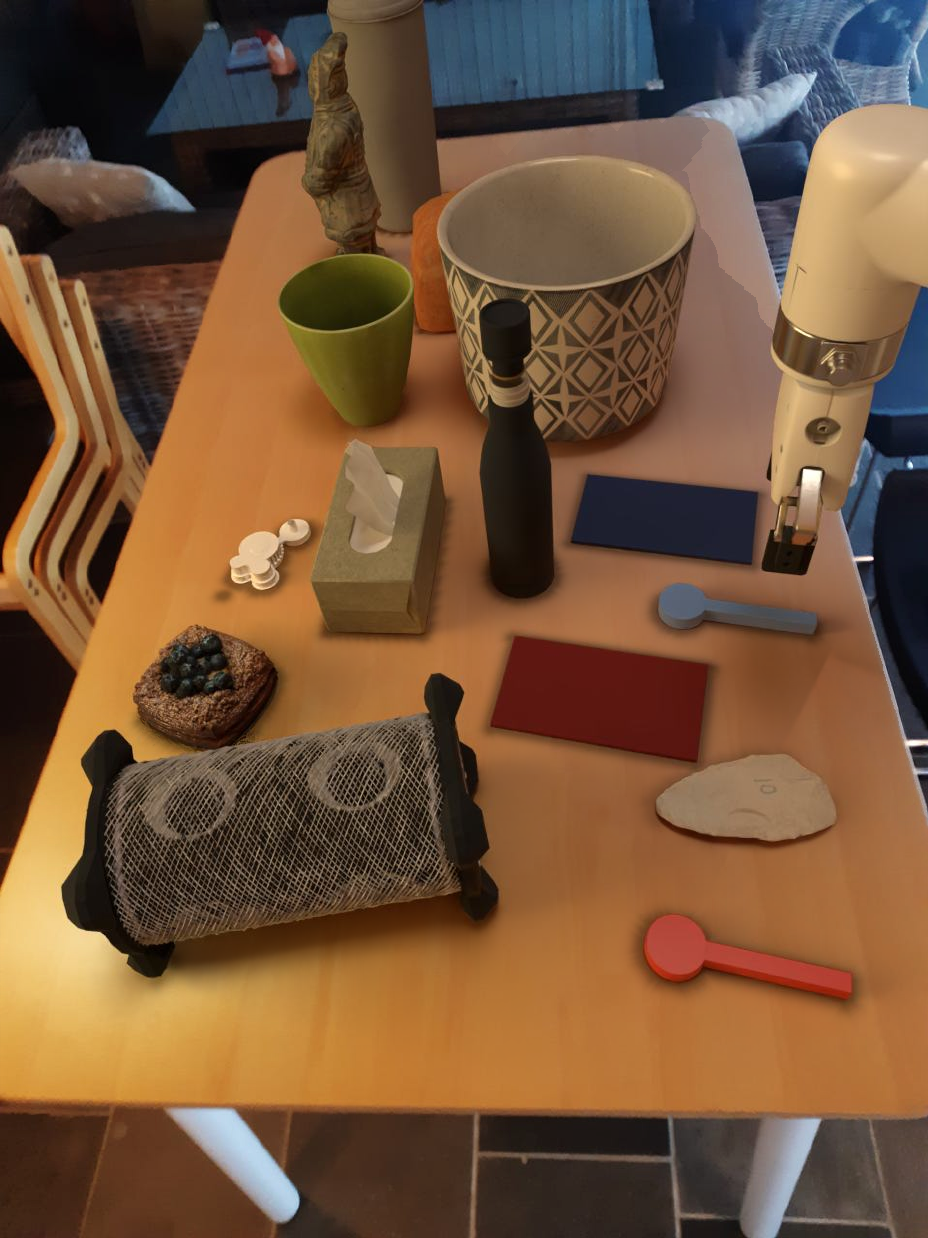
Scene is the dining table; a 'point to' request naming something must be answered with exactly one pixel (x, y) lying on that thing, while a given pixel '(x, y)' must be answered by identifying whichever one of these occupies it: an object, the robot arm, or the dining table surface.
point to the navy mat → (667, 518)
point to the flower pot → (353, 331)
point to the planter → (574, 283)
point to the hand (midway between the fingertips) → (784, 523)
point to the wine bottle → (514, 459)
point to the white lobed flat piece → (266, 554)
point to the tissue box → (380, 540)
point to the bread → (430, 268)
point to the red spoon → (731, 959)
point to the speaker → (278, 831)
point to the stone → (750, 800)
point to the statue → (339, 156)
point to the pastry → (206, 688)
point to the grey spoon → (727, 612)
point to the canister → (392, 101)
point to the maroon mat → (603, 697)
